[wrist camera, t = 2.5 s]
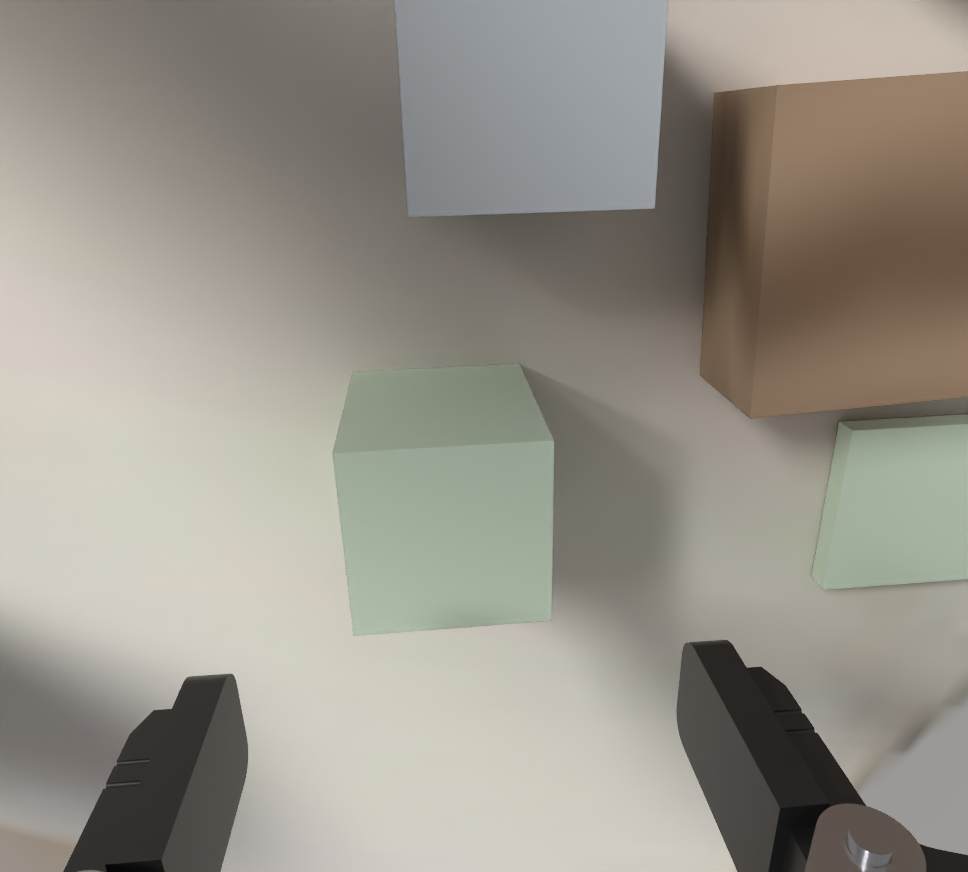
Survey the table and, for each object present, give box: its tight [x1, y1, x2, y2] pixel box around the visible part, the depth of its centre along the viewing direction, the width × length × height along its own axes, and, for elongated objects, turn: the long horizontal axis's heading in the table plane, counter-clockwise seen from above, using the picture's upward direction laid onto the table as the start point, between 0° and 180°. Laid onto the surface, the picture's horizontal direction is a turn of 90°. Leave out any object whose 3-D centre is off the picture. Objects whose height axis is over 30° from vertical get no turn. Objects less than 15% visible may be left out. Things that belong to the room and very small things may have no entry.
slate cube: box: [394, 0, 668, 217], centre depth 16 cm, size 5×5×6 cm
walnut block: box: [700, 71, 968, 419], centre depth 20 cm, size 8×8×4 cm
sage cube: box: [333, 363, 554, 636], centre depth 20 cm, size 5×5×6 cm
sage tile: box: [811, 414, 968, 590], centre depth 25 cm, size 6×6×1 cm
